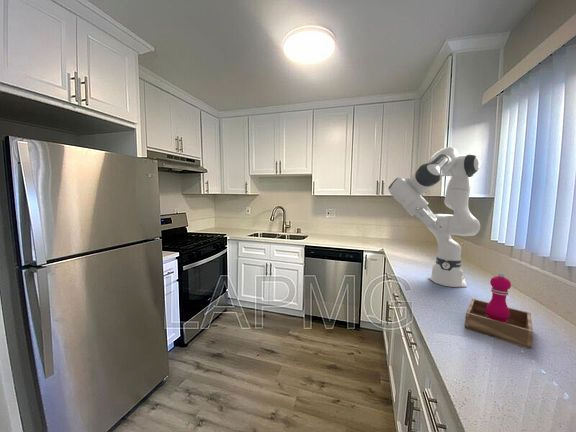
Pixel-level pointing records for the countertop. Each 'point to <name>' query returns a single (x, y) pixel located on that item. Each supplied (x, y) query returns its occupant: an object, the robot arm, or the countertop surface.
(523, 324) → the tray
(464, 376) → the countertop surface
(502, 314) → the pepper mill
